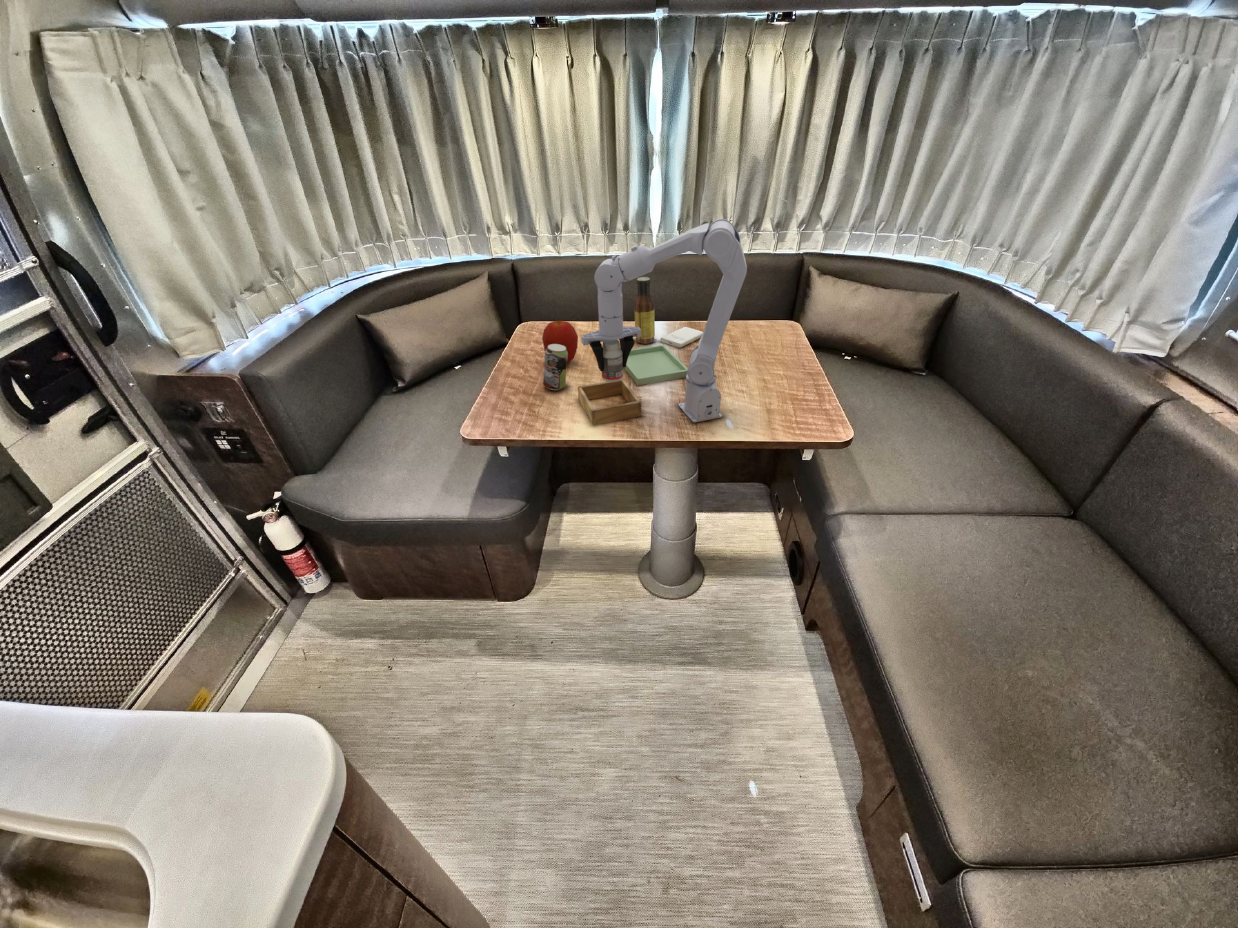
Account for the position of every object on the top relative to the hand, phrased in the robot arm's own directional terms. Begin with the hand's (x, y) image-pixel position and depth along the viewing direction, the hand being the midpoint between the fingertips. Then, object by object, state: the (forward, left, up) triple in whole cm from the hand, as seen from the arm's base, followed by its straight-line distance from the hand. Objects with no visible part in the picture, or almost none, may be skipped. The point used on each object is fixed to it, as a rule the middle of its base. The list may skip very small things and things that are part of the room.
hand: (612, 367), depth 132 cm
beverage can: (+14, +12, -10) cm, 21 cm away
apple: (+29, +7, -10) cm, 32 cm away
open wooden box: (-2, +2, -10) cm, 11 cm away
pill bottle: (0, 0, -3) cm, 3 cm away
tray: (+17, -17, -10) cm, 26 cm away
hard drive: (+33, -34, -10) cm, 49 cm away
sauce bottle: (+36, -22, -10) cm, 44 cm away
